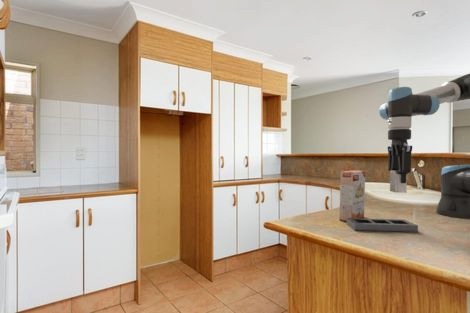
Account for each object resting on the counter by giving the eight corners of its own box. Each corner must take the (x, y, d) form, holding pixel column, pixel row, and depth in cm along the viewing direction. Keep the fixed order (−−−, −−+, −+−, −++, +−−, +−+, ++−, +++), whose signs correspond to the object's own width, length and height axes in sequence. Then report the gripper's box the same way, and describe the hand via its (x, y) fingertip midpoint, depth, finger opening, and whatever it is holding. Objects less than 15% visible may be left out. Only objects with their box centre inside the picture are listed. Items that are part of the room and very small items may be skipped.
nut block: (400, 191, 104) (401, 170, 104) (406, 192, 100) (406, 171, 100) (390, 190, 105) (390, 170, 104) (395, 192, 101) (395, 171, 100)
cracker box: (353, 223, 111) (353, 172, 110) (338, 220, 115) (339, 171, 115) (365, 217, 121) (365, 170, 120) (351, 215, 125) (352, 169, 125)
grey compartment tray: (404, 225, 107) (404, 219, 107) (417, 232, 98) (417, 225, 98) (346, 224, 108) (346, 218, 108) (354, 230, 100) (354, 223, 99)
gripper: (379, 131, 111) (378, 187, 111) (400, 127, 94) (399, 194, 94) (398, 131, 110) (397, 188, 111) (423, 127, 93) (422, 194, 94)
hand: (398, 190), depth 102 cm, fingers closed on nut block, 4 cm apart
